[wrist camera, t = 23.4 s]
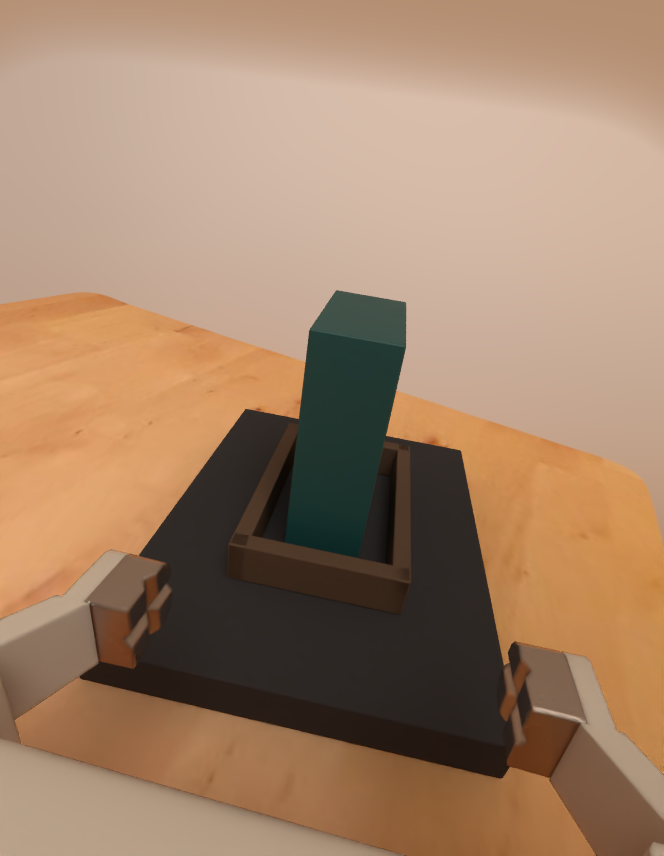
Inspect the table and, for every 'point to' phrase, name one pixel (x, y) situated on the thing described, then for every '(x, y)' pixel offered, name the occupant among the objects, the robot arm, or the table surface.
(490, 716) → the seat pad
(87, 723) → the table surface
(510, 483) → the table surface
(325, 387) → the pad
